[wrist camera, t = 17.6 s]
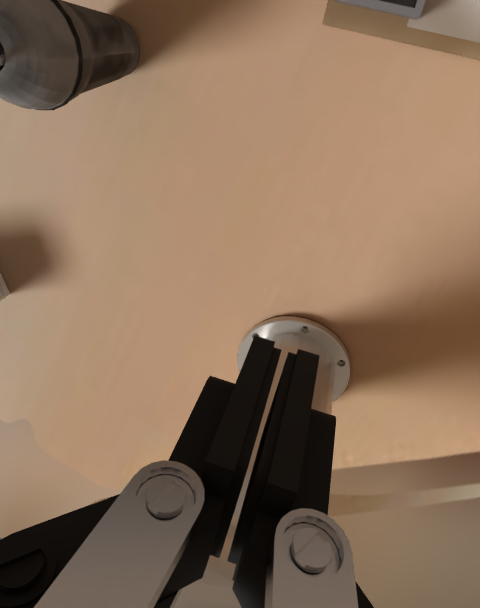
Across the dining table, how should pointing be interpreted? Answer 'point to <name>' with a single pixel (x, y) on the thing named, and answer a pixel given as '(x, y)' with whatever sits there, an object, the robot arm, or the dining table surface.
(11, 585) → the robot arm
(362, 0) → the button housing
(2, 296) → the light bulb box
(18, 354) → the dining table surface
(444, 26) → the clipboard
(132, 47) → the beverage cup
